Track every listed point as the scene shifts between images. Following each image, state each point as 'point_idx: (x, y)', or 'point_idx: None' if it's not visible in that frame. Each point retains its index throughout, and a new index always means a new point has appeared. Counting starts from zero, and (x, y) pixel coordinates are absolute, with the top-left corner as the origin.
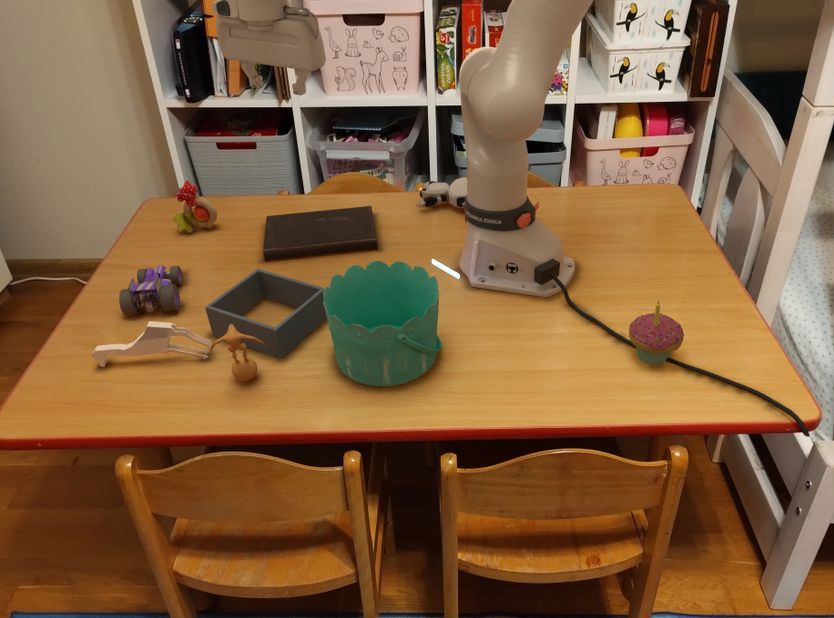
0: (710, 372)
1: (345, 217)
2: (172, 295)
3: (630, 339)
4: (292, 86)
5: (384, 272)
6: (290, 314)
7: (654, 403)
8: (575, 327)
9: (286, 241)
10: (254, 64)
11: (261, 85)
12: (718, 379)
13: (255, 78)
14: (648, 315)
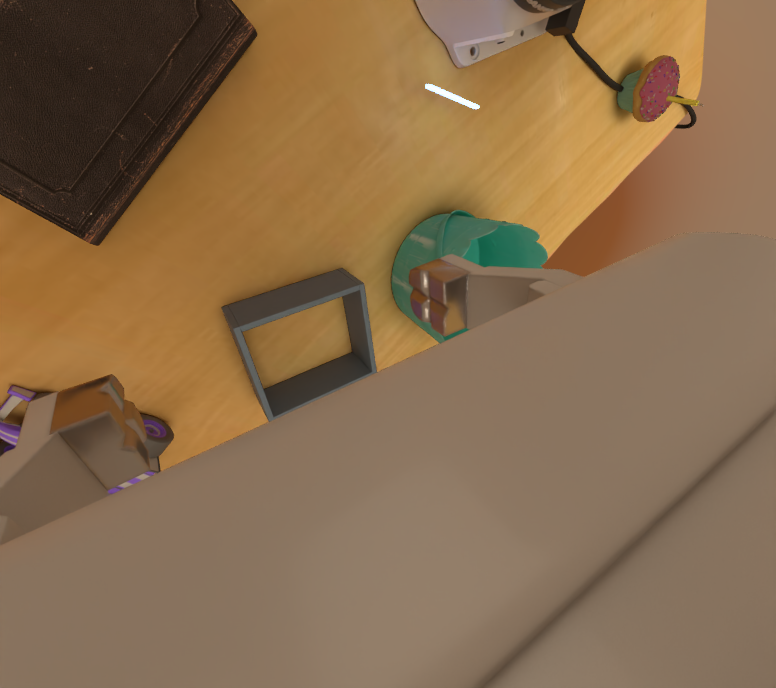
0: None
1: None
2: (169, 440)
3: (633, 112)
4: (439, 331)
5: (459, 244)
6: (369, 348)
7: (621, 161)
8: (572, 85)
9: (84, 175)
10: (3, 519)
11: (121, 389)
12: None
13: (141, 466)
14: (664, 79)
